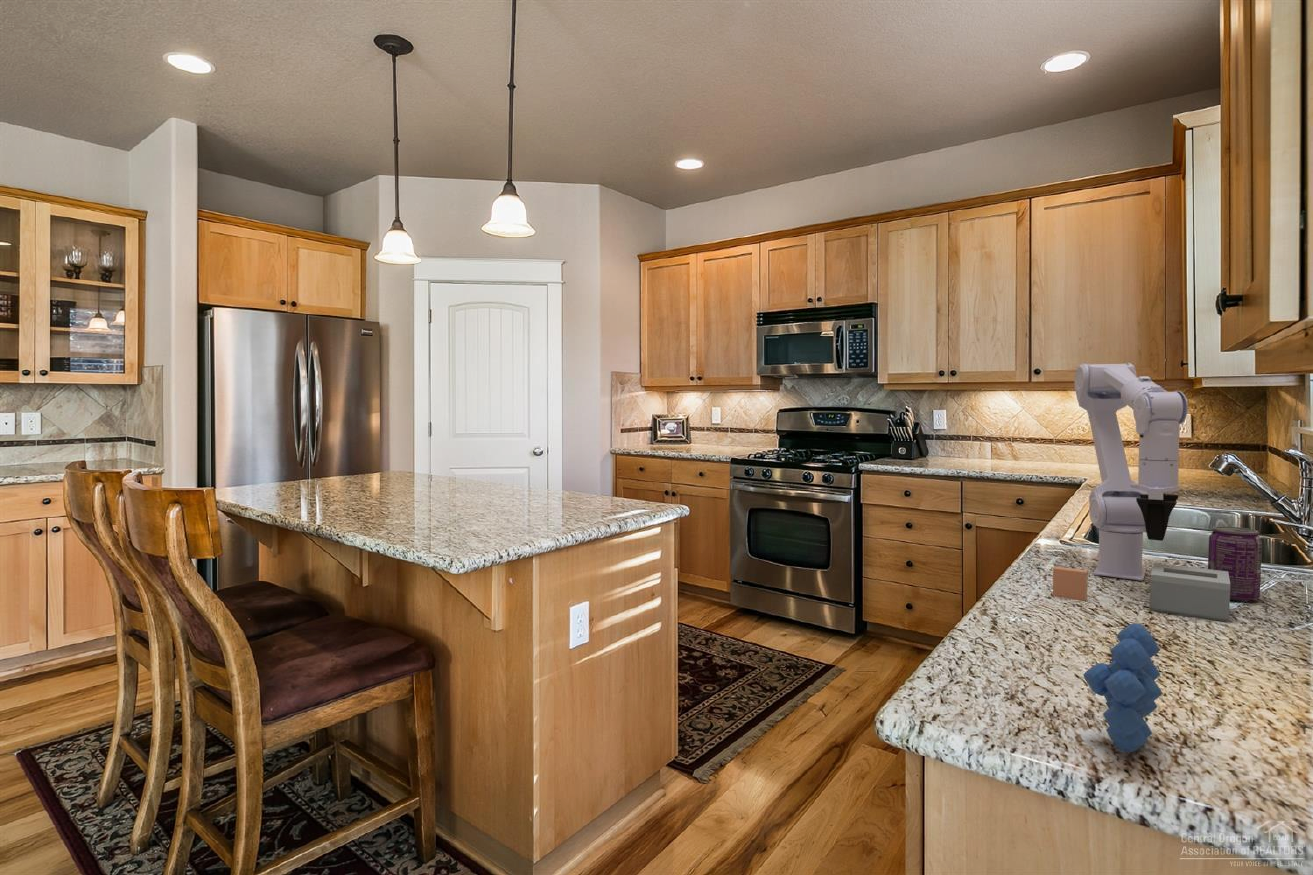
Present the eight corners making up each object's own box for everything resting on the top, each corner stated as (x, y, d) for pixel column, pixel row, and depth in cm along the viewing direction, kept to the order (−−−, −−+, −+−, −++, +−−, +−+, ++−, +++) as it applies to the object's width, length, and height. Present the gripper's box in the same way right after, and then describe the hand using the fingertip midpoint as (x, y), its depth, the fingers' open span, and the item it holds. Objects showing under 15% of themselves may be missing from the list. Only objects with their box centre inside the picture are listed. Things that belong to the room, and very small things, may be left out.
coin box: (1152, 596, 121) (1154, 562, 120) (1226, 606, 114) (1228, 571, 114) (1149, 610, 113) (1151, 574, 113) (1228, 622, 107) (1230, 584, 106)
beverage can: (1239, 592, 123) (1242, 526, 123) (1270, 603, 116) (1273, 533, 116) (1197, 591, 124) (1199, 525, 123) (1225, 602, 117) (1228, 532, 116)
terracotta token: (1054, 593, 123) (1055, 566, 123) (1087, 598, 120) (1087, 570, 120) (1052, 596, 122) (1053, 568, 121) (1085, 601, 118) (1086, 572, 118)
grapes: (1094, 711, 76) (1097, 605, 76) (1169, 731, 72) (1173, 618, 71) (1066, 750, 68) (1070, 631, 67) (1150, 775, 63) (1154, 647, 63)
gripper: (1133, 457, 129) (1132, 529, 129) (1127, 461, 118) (1125, 540, 118) (1181, 458, 125) (1179, 533, 125) (1179, 463, 113) (1177, 544, 114)
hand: (1156, 536), depth 121 cm, fingers open, 7 cm apart
